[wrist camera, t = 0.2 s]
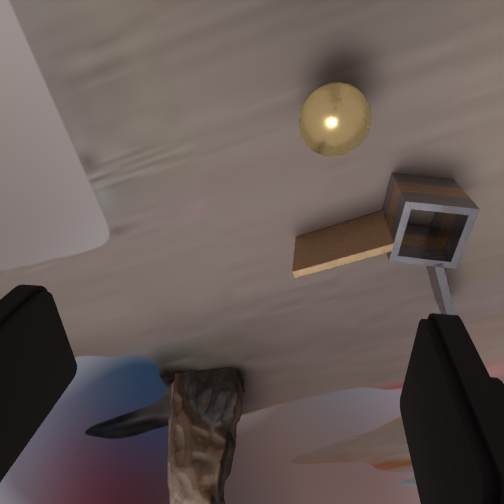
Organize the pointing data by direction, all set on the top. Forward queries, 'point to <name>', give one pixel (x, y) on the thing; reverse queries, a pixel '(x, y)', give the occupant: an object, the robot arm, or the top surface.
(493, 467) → the robot arm
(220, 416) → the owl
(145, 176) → the top surface
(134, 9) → the top surface
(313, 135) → the gold rounded cylinder
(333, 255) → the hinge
